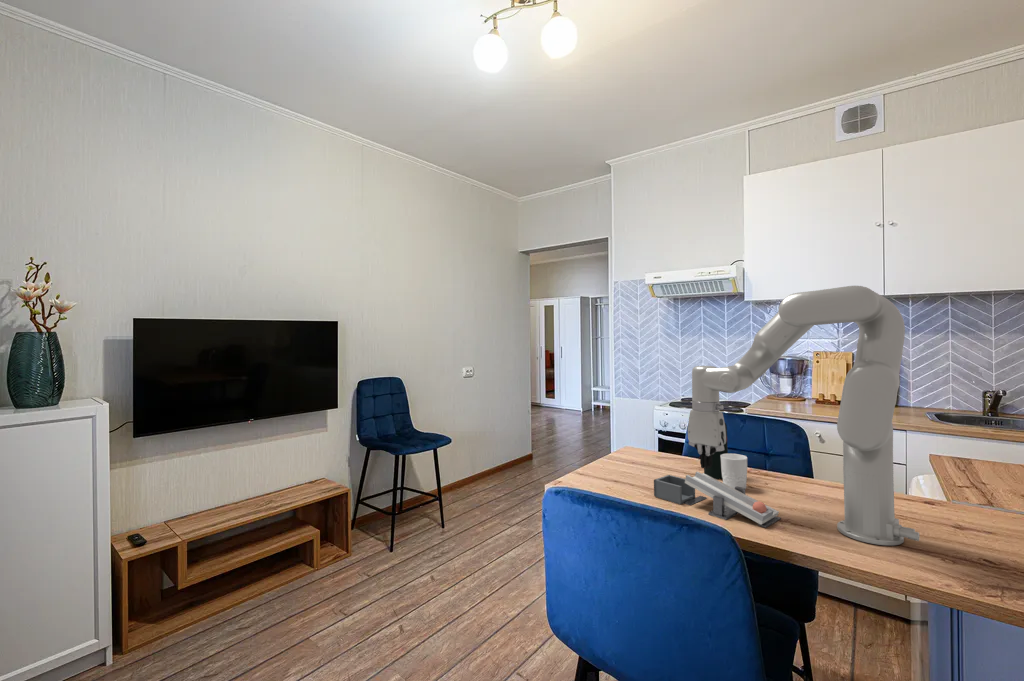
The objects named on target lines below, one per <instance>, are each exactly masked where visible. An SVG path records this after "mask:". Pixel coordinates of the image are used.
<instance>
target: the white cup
mask: <svg viewBox="0 0 1024 681" xmlns="http://www.w3.org/2000/svg"><path fill="white" fill-rule="evenodd" d="M720 457H721V471H722V478H723V479H722V483H724V484H726V485H728V486H730V487H732V488H734V489H735V487H736V486H738V487H742V488H745V490H746V489H747V479H748V457H747V455H743V454H739V453H728V454H722V455H720Z"/></svg>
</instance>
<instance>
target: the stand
mask: <svg viewBox="0 0 1024 681" xmlns="http://www.w3.org/2000/svg"><path fill="white" fill-rule="evenodd" d="M735 489H736V490H738V491H740V492H741V493H743V494H745V495H746V489H745V488H742V487H738V486H736V487H735ZM707 497H708V496H704V495H698V496H697V497H696V496H695V498H694V499H691V500H689V501H687V502H684V503H683V505H687V506H692V505H694V504H697V503H699V502H702V501H704V500H706V499H707ZM712 504H713V505H712V507H713V508H712V510H711V511H708V512H707V513H708V514H707V515H709V516H712V517H715V518H719V519H721V520H724V521H727V520H729V519H731V518H733V517H735V516H736V515H739V514H740V513H739V512H737V511H735V510H733V509H731V508H730V507H728V506H726V505H724V498H722V497H718V496H713V498H712ZM781 519H782V517H781V516H780V517H779V516H775V517H774V518H772V519H770V520H768V521H767V522H765V523H763V524H762V525H761V524H759V523H757V526H759V527H760V528H765V529H766V528H768V527H770V526H772V525H773V524H775V523H777V522H778V521H779V520H781Z"/></svg>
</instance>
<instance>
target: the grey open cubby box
mask: <svg viewBox="0 0 1024 681" xmlns="http://www.w3.org/2000/svg"><path fill="white" fill-rule="evenodd" d="M685 479H686V478H684V477H683V478H682V477H679V476H676V475H671V474H667V475H664V476H661V477H657V478H656V479H653V497H654V496H656V497H655V498H657V497H658V498H657V499H660V498H662V499H661V500H664V501H667V500H668V502H670V501H671V502H670V503H673V502H674V503H673V504H678V505H681V506H682V505H684V502H687V501H689V500H691V499H694V498H696V489H695V488H693V487H691V486H689V485H687V484H686V483H685Z"/></svg>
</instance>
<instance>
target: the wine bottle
mask: <svg viewBox="0 0 1024 681" xmlns="http://www.w3.org/2000/svg"><path fill="white" fill-rule="evenodd" d="M725 430H726V444H724V451H716V452H715V453H714V454H713V455H712V466H711V468H708V469H705V468H703V473H704V474H706V475H708V476H710V477H712V478H714V479H716V480H723V478H722V471H721V457H720V455H722V454H729V452H728V449H729V448H728V426H727V424H726V422H725ZM706 447H707V445H706ZM698 460H700V456H699V458H698Z"/></svg>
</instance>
